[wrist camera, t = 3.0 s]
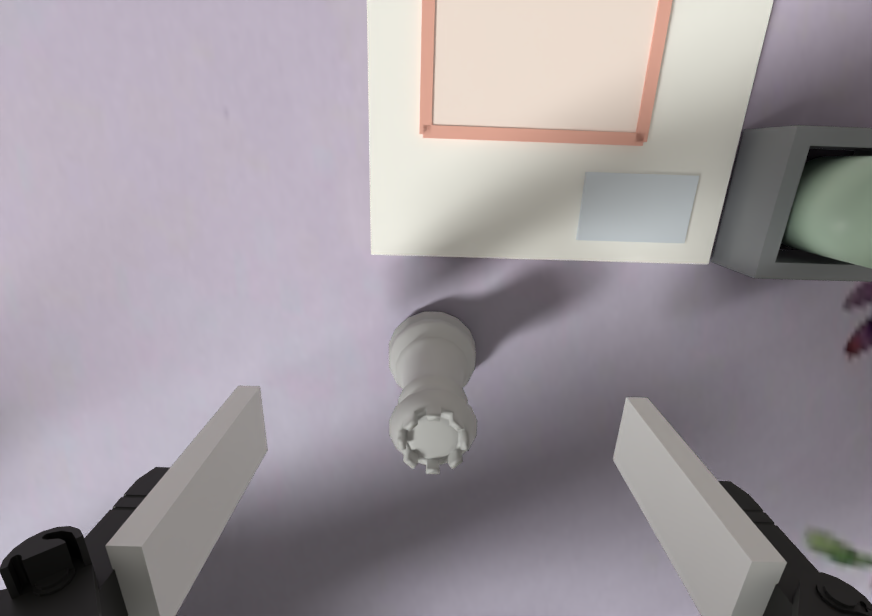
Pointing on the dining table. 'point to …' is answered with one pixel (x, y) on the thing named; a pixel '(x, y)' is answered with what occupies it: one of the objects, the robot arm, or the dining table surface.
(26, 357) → the dining table surface
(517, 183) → the cream square board
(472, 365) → the rook chess piece
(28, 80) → the dining table surface
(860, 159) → the button
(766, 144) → the button housing
